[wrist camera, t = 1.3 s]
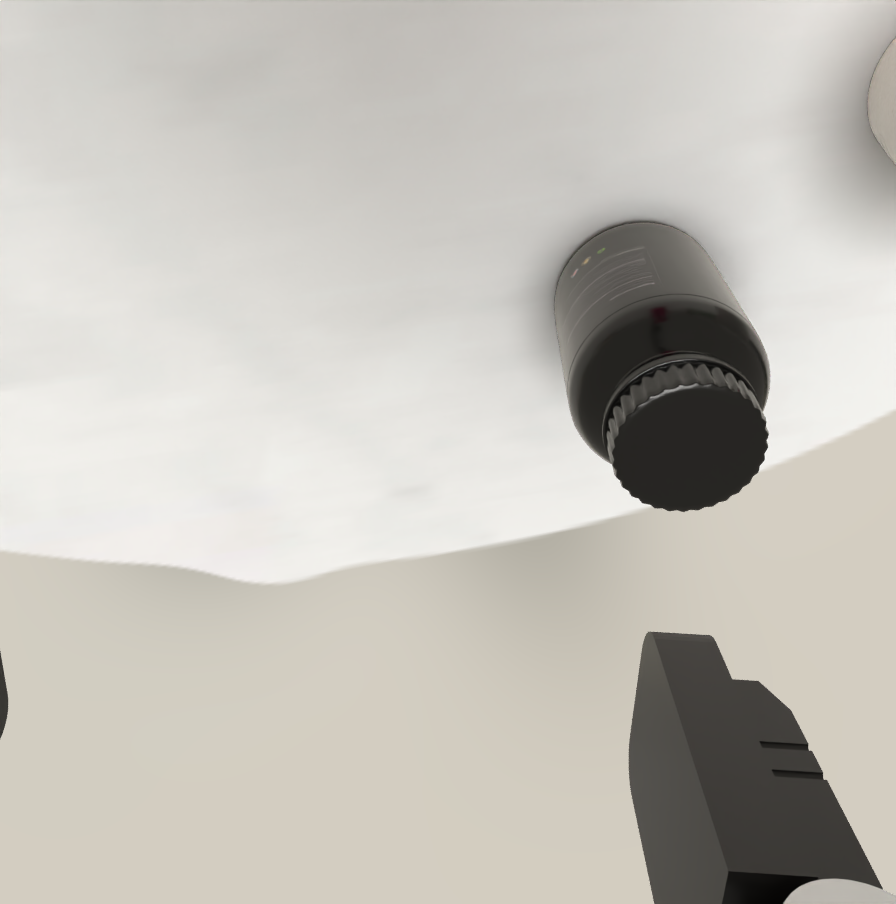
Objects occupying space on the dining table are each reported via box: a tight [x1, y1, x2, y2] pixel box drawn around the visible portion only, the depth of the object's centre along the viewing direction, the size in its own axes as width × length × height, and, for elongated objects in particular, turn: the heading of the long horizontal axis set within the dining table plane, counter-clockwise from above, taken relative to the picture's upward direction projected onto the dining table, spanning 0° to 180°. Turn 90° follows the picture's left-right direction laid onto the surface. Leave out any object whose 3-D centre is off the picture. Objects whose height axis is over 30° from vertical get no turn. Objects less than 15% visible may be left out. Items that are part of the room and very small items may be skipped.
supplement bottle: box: [554, 222, 770, 512], centre depth 31 cm, size 7×7×12 cm
